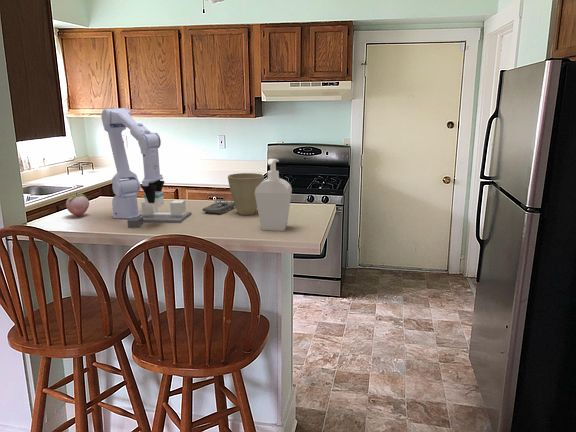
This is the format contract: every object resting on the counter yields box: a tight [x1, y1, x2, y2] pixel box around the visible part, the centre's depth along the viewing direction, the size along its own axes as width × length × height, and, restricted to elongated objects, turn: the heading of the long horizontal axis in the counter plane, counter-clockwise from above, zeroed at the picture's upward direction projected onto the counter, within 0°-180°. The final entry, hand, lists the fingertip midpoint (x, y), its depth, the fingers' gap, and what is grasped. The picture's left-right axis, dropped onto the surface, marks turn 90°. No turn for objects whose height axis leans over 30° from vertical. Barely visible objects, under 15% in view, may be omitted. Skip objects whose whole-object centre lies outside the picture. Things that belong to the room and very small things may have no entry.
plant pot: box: [227, 172, 264, 216], centre depth 200 cm, size 15×15×16 cm
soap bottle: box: [255, 158, 293, 232], centre depth 174 cm, size 12×10×26 cm
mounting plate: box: [140, 199, 192, 224], centre depth 194 cm, size 18×14×7 cm
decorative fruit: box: [65, 192, 90, 217], centre depth 199 cm, size 9×8×10 cm
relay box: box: [127, 216, 144, 229], centre depth 184 cm, size 4×6×3 cm, turn 178°
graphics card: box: [202, 198, 236, 214], centre depth 208 cm, size 17×4×12 cm
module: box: [143, 191, 165, 208], centre depth 182 cm, size 6×5×5 cm
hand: (154, 201), depth 182 cm, fingers closed on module, 5 cm apart
